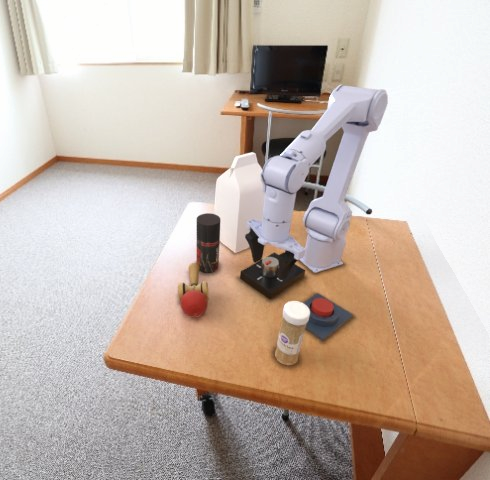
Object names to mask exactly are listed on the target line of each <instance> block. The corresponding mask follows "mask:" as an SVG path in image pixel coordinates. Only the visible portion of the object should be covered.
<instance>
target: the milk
mask: <svg viewBox="0 0 490 480" xmlns="http://www.w3.org/2000/svg"><path fill="white" fill-rule="evenodd" d="M262 170H263V167H262V166H261V165H260V164H259V161H258V158H257V153H255V152H253V151H251V152H246V153H244V154H240V155H237V156H234V158H233V160H232V163H231V164H230V167H229V168H228V169H227V170H226V171H225V172H223V173H221V175H220V176H218V177H217V179H216V182H215V193H214V205H213V214H215V215H218V216H219V217H220V243H221V244H223V245H224V246H225V247H227V248H228V249H229V250H231V252H233V253H234V254H237V253H240V252H242V251H244V250H246V249H250V246H249V244H248V242H247V240H246V238H245V235H246V234H248V233H249V232H250V230H248V229H246V227H247V221H250V220H252V219H254V220H256V221H259V222H262V217H263V208H264V200H265V193H264V192H263V183H262V181H261V173H262Z"/></svg>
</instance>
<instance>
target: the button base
mask: <svg viewBox="0 0 490 480" xmlns="http://www.w3.org/2000/svg"><path fill="white" fill-rule="evenodd" d="M317 298H323V299H326V300H328V301H330V302H331V303H332V304H333V306H334V309H333V312H332V314H331V316H329V317H321V316H317V315H316V314H314V313H313V312H312V310H311V306H312V302H313V300H314V299H317ZM303 303H304V304H305V305H306V306H307V307H308V308H309V310H310V316H309V320H308V322H307V324H306V328H305V331H308V332H309V333H310V334H312V335H313V336H315V337H316V338H317V339H319V340H320V341H321V342H324V341H325V340H327V338H329V337H330V336H332V334H334V333H335V332H336V331H337V330H339V328H341V327H342V326H344V324H346V323H347V322H348V321H349V320H350V319H352V318H353V316H354V314H353V313H352V312H349V311H348V310H347V309H344V308H343V307H341V306H340V305H338V304H336V303H335V302H333V301H331V300H330V299H328V298H326V297H325V296H324V295H322V294H320V293H319V292H317V293H315V294H314V295H313V296H311V297H310V298H309V299H307V300H305V301H304V302H303Z"/></svg>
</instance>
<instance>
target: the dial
mask: <svg viewBox="0 0 490 480" xmlns="http://www.w3.org/2000/svg"><path fill="white" fill-rule="evenodd" d="M263 258H264V259H263ZM263 258H262V259H263V260H262V259H261V260H262V267H261V274H262V275H263V276H265V277H267V278H274V277H276V276H277V272H278V266H279V262H278V260H277V259H276V258H274V257H267V256H265V257H263Z"/></svg>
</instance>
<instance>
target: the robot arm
mask: <svg viewBox="0 0 490 480" xmlns="http://www.w3.org/2000/svg"><path fill="white" fill-rule="evenodd" d="M388 96H389V95H388V93H387V90H386V89H383V88H380V89H377V88H368V87H360V86H351V85H345V84H339V85H337V86H336V87H335V88H334V89H333V90H332V92H331V94H330V96H329V99H328V102H327V108H326V110H325V111H324V113H323V114H322V115H321V117H320V118H319V119H318V121H316V123H315V125H314V126H313V127H312V128H311V129H308V130H307V129H305V130H303V131H301V132H300V133H299V134H298V136H297V137H296V138H295V139H294V140H293V141H292V142H291V143H290V144H289V145H288V146H287V147H285V149H284V150H283V152H281V154H280V155H274V156H273V157H270V158H269V159H267V161H266V162H265V163H264V165H263V167H262V173H261V181H262V183H263V192H264V193H265V200H264V208H263V217H262V222H259V221H256V220H254V219H252V220H250V221H247V227H246V229H248V230H250V232H249V233H248V234H246V235H245V238H246V240H247V242H248V244H249V246H250V247H249V249H250V253H251V258H252V261H253V263H256V262H258V261H260V260H262V259H263V256H264V251H265V246H266V245H269V246H273V247H275V248H277V249H281V250H284V252H281V253H279V254H278V256H277V258H278V262H279V272H278V279H279V280H283V279H285V278H286V277H287V276H288V274H289V272H290V270H291V268H292V267H293V265H294V264H296V263H297V262H298V261H300V262H301V263H302V265H305V266H306V267H307V268H308V269H309V270H310V271H311V272H312V273H313V274H316V273H317V274H318V273H320V272H323V271H326V270H330V269H332V268H335V267H340V266H342V265H343V264H344V262H343V261H342V259H343V255H344V251H345V247H346V243H347V239H346V234H347V233H348V231H349V229H350V226H351V218H352V215H353V210H352V209H351V208H350V207H349V205H348V204H347V203H346V201H345V199H346V197H347V193H348V191H349V189H350V188H349V187H350V185H351V182H352V179H353V177H354V174H355V171H356V169H357V165H358V163H359V160H360V157H361V155H362V152H363V149H364V147H365V143H366V141H367V138H368V136H369V134H370V133H372V132H376V131H378V129H379V127H380V125H381V123H382V121H383V117H384V115H385V113H386V110H387V106H388V101H389V100H388ZM340 129H342V131H343V134H342V137H341V140H340V143H339V145H338V149H337V152H336V155H335V158H334V160H333V163H332V167H331V170H330V173H329V176H328V179H327V182H326V185H325V188H324V191H323V194H322V196H320V197H317V198H315V199H313V200H311V201H310V203H309V205H308V207H307V209H306V210H305V212H304V215H303V217H302V224H303V227H304V228H306V229H305V232H306V233H307V235H306V242H305V245H304V246H302V245H301V244H300V242H298V241H297V240H296V239H295V238H294V237H293V236H292V235H291V234H290V232H291V227H292V220H293V215H294V209H295V203H296V198H297V192H299V190H300V189H301V188H302V187H303V185H304V183H305V180H306V179H307V176H308V175H309V174H310V168H311V167H312V166H313V165H314V164H315V163H316V161H317V160H318V159H319V158H320V157H321V156H322V155H323V154H324V153H325V151H326V148H327V143H326V142H327V141H328V140H329V139H331V138H332V137H333V136H334V134H336V133H337V132H338V131H339V130H340Z"/></svg>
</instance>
